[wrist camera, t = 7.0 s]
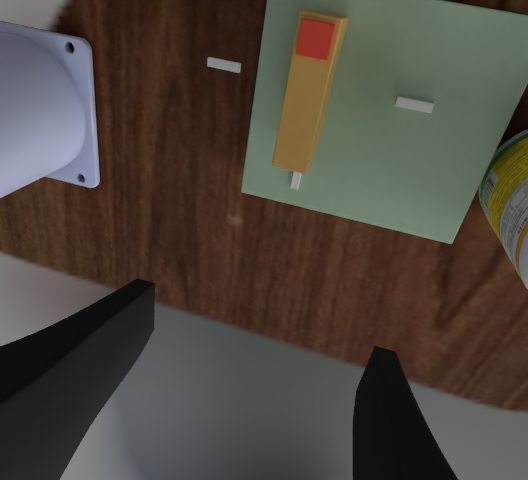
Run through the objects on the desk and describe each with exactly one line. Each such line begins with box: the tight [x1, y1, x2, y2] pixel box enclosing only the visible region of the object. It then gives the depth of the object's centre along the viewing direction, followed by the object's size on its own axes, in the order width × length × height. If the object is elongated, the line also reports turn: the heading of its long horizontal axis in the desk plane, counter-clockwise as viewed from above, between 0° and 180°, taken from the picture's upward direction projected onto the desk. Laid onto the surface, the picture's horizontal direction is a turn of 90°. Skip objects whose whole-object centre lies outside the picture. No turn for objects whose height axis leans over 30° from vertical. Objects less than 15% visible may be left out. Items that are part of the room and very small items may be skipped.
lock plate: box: [207, 0, 528, 244], centre depth 17 cm, size 12×10×3 cm
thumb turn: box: [272, 10, 349, 174], centre depth 15 cm, size 5×1×4 cm, turn 170°
